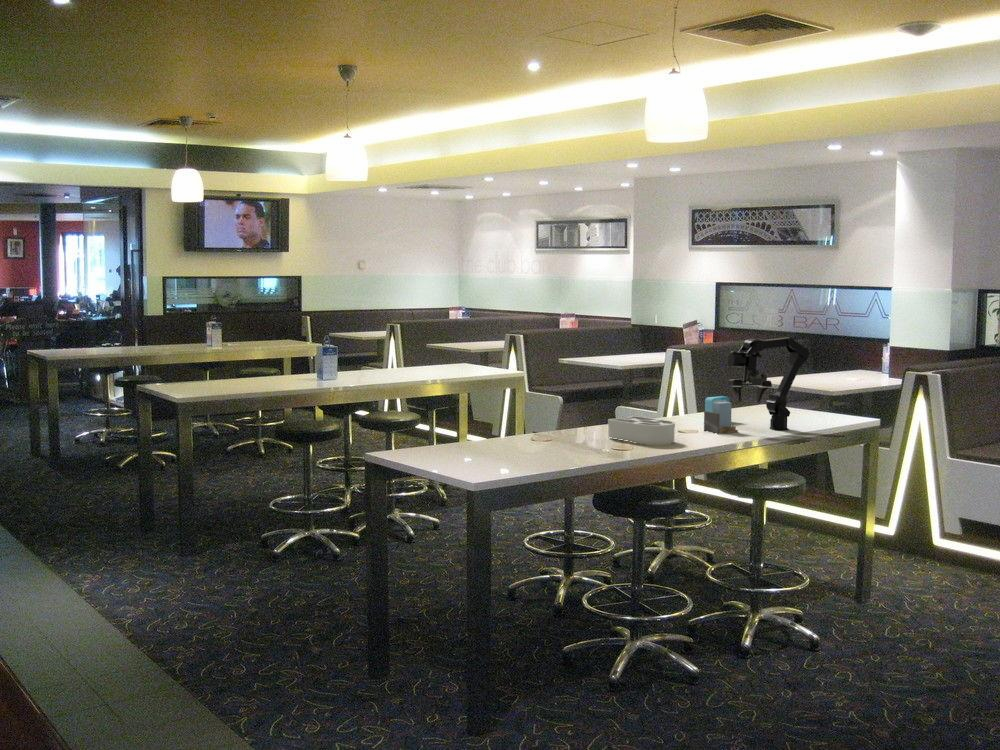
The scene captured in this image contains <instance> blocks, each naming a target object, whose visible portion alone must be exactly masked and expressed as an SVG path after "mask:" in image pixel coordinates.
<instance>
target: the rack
mask: <svg viewBox="0 0 1000 750" xmlns="http://www.w3.org/2000/svg"><path fill="white" fill-rule="evenodd" d="M703 413H704V414H703V432H706V431H708V432H707V433H711V432H713V433H712V434H715V433H717V434H716V435H719V434H718V433H724V434H730V433H729V432H735V433H739V430H738V429H736V426H735V425H734V426H732V425H731V427H720V428H719V413H714V412H709V411H705V410H704V411H703Z"/></svg>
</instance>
